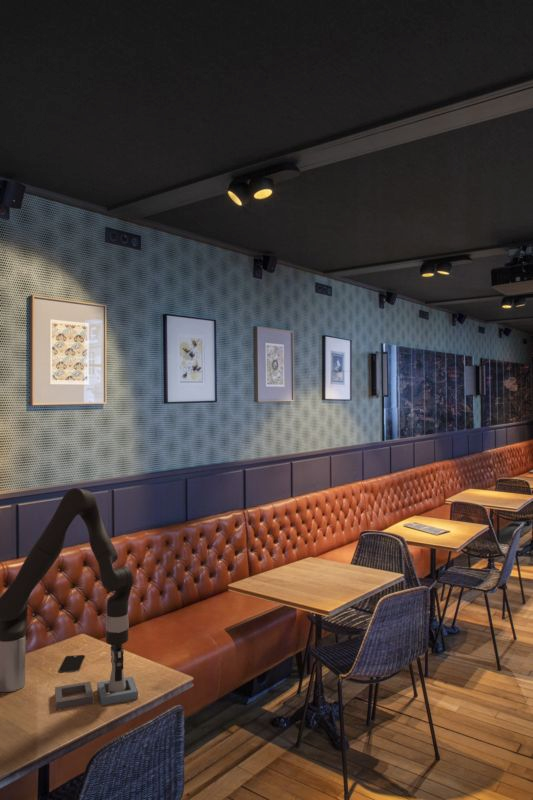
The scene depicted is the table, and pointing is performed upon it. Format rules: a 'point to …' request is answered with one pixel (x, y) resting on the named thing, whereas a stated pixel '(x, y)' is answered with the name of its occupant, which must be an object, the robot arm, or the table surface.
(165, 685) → the table surface
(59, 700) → the collar
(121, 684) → the salt shaker
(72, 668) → the smartphone
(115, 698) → the collar
